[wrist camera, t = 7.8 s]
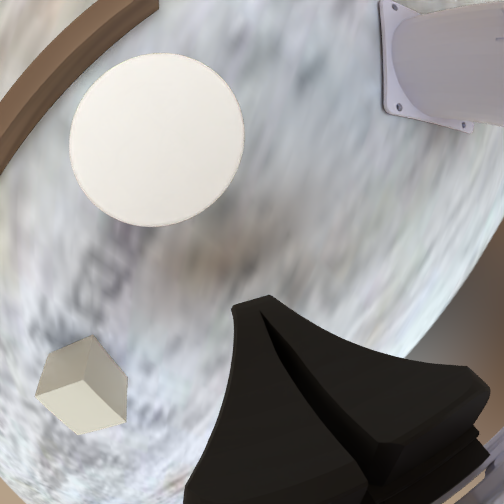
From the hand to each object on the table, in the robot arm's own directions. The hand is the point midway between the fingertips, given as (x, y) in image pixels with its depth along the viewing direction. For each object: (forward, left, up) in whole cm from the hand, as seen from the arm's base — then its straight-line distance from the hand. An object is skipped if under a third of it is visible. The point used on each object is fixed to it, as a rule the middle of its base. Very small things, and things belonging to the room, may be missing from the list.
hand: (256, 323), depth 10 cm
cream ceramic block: (+9, +7, -7) cm, 14 cm away
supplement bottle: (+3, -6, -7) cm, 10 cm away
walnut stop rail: (+8, -9, -7) cm, 14 cm away
